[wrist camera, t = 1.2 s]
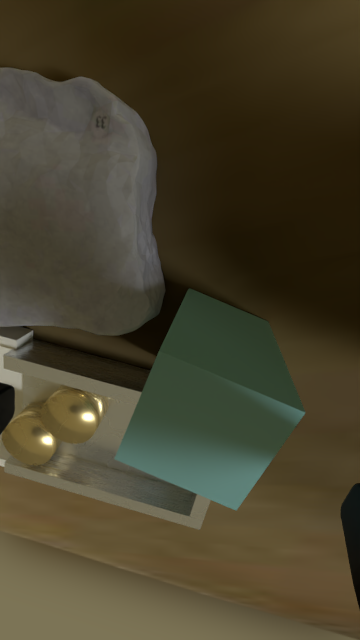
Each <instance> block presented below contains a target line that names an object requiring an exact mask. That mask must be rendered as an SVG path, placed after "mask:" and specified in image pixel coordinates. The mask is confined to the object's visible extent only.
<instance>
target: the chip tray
mask: <svg viewBox="0 0 360 640" xmlns="http://www.w3.org/2000/svg"><path fill="white" fill-rule="evenodd" d="M32 339H33V330H31V329H27V328H23V327H19V326H10V327H0V382H1V383H5V384H8V385H12V386H13V387H14V389H15V412H14V415H13V418H12V419H11V421H12V420H13V419H14V418H15V417H16V416H17V415H18V414H19V413H20V412H21V411H22V410H23V374H22V373H18V372H15V371H11V370H7V369H4V362H3V355H4V354H5V353H7V352H9V351H10V350H12V349H16V350H17V349H18V348H20V347H21V346H23V345H24V344H26V343H28V342H29V341H31V340H32ZM11 421H10V422H11ZM10 422H9V423H10ZM10 456H11V454H10V453H9V452H8V451H7V450H6V448H5V446H4V444H3V441H2V433H1V435H0V466H3V467H5V461H6V460H7V459H8V458H9V457H10Z"/></svg>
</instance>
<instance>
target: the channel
mask: <svg viewBox="0 0 360 640" xmlns="http://www.w3.org/2000/svg"><path fill="white" fill-rule="evenodd" d="M3 362H4V369H7V370H11V371H15V372H18V373H22V374H23V409H24V408H25V407H26V406H27V405H29V404H30V403H33V402H46V401H47V400H48V399H49V398H50V397H51V395H52V394H53V393H54V392H55V391H56V390H57V389H58V388H59V387H60V386H61V385H66V386H69V387H73V388H77V389H80V390H84V391H87V392H91V393H95V394H98V395H102V396H106V397H108V401H109V407H108V410H107V413H106V414H105V416H104V418H103V419H102V421H101V423H100V424H99V426H98V428H97V430H96V431H95V433H94V435H93V436H92V437H91V438H90V439H89V440H88V441H86V442H83V443H79V444H71V443H66V442H63V441H62V443H61V444H60V446H59V447H58V449H57V450H56V451H55V453H54V454H53V456H52V457H51V458H50V460H49V461H47V462H46V463H44V464H41V465H29V464H26V463H23V462H21V461H19V460H17V459H16V458H14V457H13V456H12V455H11V456H10V457H9V458H8V459H7V460H6V461H5V472H6V473H9V474H13V475H16V476H19V477H23V478H26V479H30V480H33V481H36V482H40V483H43V484H47V485H50V486H53V487H57V488H60V489H63V490H67V491H70V492H74V493H77V494H80V495H84V496H87V497H90V498H94V499H97V500H101V501H104V502H107V503H111V504H114V505H118V506H121V507H124V508H128V509H131V510H134V511H138V512H141V513H145V514H148V515H151V516H155V517H158V518H161V519H165V520H168V521H172V522H175V523H178V524H182V525H185V526H188V527H192V528H195V529H199V530H200V528H201V525H202V523H203V520H204V517H205V514H206V512H207V509H208V506H209V503H210V501H211V500H210V499H208V498H205V497H203V496H201V495H198V494H196V493H193V492H191V491H189V490H186V489H184V488H182V487H179V486H177V485H174V484H172V483H170V482H167V481H165V480H163V479H160V478H158V477H155V476H153V475H151V474H148V473H146V472H144V471H141V470H139V469H137V468H134V467H132V466H129V465H127V464H125V463H122V462H120V461H118V460H115V459H114V458H115V456H116V454H117V451H118V449H119V446H120V444H121V442H122V439H123V437H124V434H125V432H126V430H127V427H128V425H129V422H130V420H131V417H132V415H133V413H134V410H135V408H136V405H137V403H138V401H139V398H140V396H141V393H142V391H143V388H144V386H145V384H146V381H147V379H148V376H149V374H150V372H151V370H148V369H144V368H140V367H136V366H133V365H129V364H125V363H121V362H118V361H114V360H110V359H106V358H103V357H99V356H95V355H91V354H88V353H84V352H80V351H76V350H73V349H69V348H65V347H61V346H58V345H54V344H50V343H46V342H43V341H39V340H35V339H32V340H31V341H29V342H28V343H26V344H24V345H23V346H21V347H20V348H18V349H17V350H16V349H12V350H10V351H9V352H7V353H5V354H4V355H3Z"/></svg>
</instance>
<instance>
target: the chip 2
mask: <svg viewBox="0 0 360 640" xmlns="http://www.w3.org/2000/svg"><path fill="white" fill-rule="evenodd" d="M108 407H109V401H108V397H106V396H102V395H98V394H95V393H91V392H87V391H84V390H80V389H77V388H73V387H69V386H66V385H61V386H60V387H59V388H58V389H57V390H56V391H55V392H54V393H53V394H52V395H51V397H50V398H49V399H48V400H47V401H46V402H45V403H44V404H43V406H42V409H41V419H42V422H43V424H44V426H45V428H46V429H47V430H48V432H49V433H50V434H52V435H53V436H54V437H55V438H57V439H59V440H61V441H63V442H66V443H71V444H79V443H83V442H86V441H88V440H89V439H90V438H91V437H92V436H93V435H94V433H95V431H96V430H97V428H98V426H99V424H100V423H101V421H102V419H103V418H104V416H105V414H106V413H107V410H108Z"/></svg>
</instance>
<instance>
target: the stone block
mask: <svg viewBox="0 0 360 640" xmlns="http://www.w3.org/2000/svg"><path fill="white" fill-rule="evenodd" d="M156 170H157V156H156V151H155V149H154V147H153V145H152V143H151V140H150V136H149V132H148V129H147V127H146V125H145V123H144V122H143V120H142V119H141V118H140V116H139V115H138V113H137V112H136V111H135V110H133V109H132V108H130V107H129V106H128V105H127V104H126V103H124V102H123V101H122V100H121V99H119V98H118V97H117V96H115V95H114V94H113V93H111V92H110V91H108V90H107V89H105V88H104V87H102V86H101V85H100V84H99V82H97V81H95V80H92V79H90V78H85V77H77V78H73V79H70V80H67V81H64V82H57V81H53V80H50V79H47V78H45V77H43V76H41V75H40V74H38V73H36V72H32V71H27V70H20V69H16V68H9V67H6V68H0V327H10V326H33V325H39V326H57V327H63V328H78V329H81V330H84V331H88V332H91V333H94V334H97V335H122V334H126V333H129V332H132V331H135V330H136V329H138V328H140V327H141V326H142V325H143V324H145V323H146V322H147V321H149V320H151V319H153V318H154V317H156V316H157V315H158V314H159V313H160V310H161V306H162V302H163V297H164V294H165V283H164V277H163V273H162V270H161V263H160V260H159V257H158V251H157V245H156V240H155V237H154V235H153V234H152V222H151V220H152V214H153V207H154V202H155V198H156Z"/></svg>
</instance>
